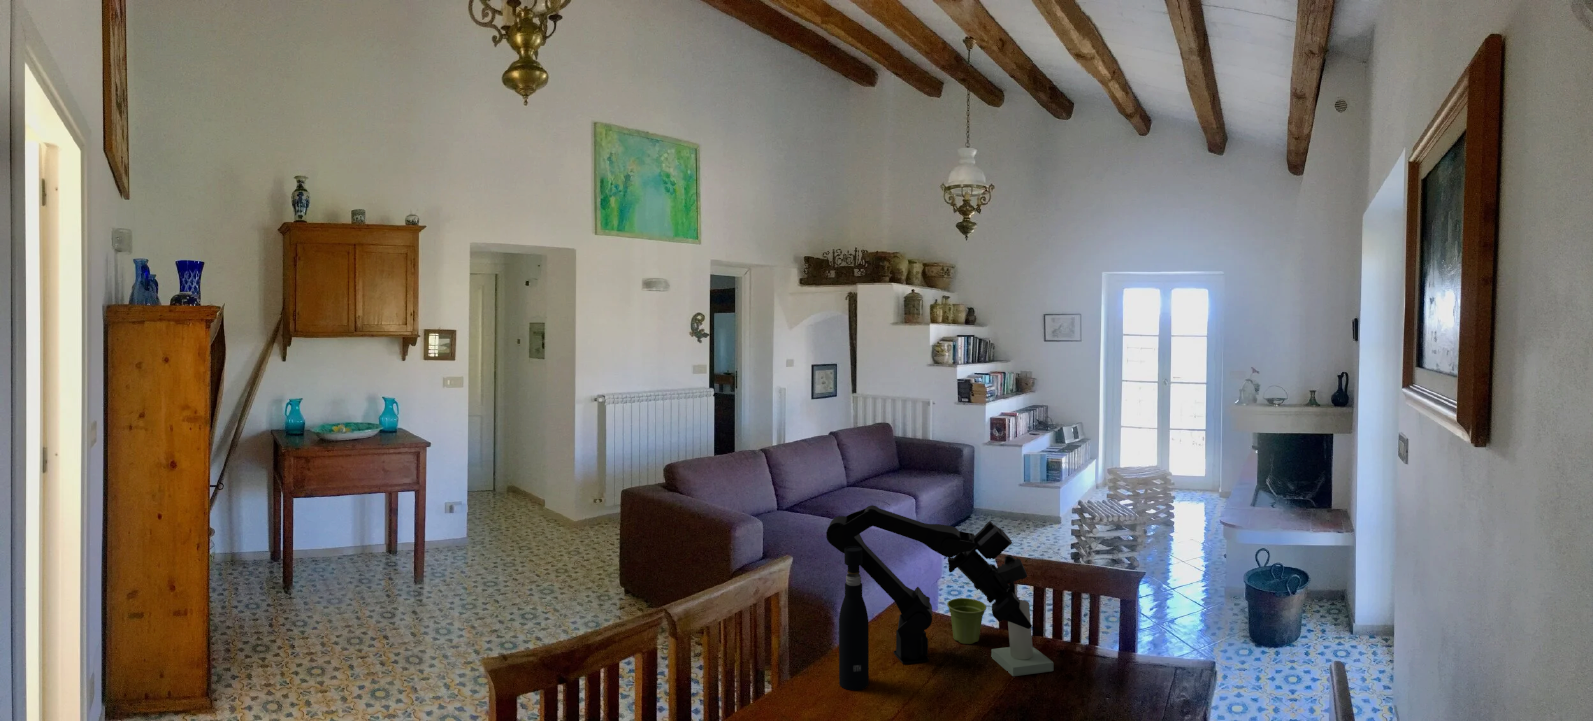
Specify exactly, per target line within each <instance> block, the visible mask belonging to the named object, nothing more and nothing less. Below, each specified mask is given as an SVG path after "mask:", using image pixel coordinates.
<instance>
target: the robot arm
mask: <svg viewBox="0 0 1593 721" xmlns="http://www.w3.org/2000/svg"><path fill="white" fill-rule="evenodd" d="M872 527H875V528H878V529H882V530H884V531H886V532H887V531H888V532H889V533H893V534H895V535H898V536H901V537H905V538H908V539H911V540H913V541H916V542H919V543H921V544H924V545H925V546H926V547H928V548H929V549H930V550H932V551H934V552H935V553H937V554H939V555H941V556H943V557H945V558H947V563H948V565H947V566H948V572H949V573H953V572H954V571H955V570H956V569H958V570H959V571H960V572H961V573H962V574H963V575H964V576H965V577H966V578H967V579H968V580H969V581H970V582H971V583H972V584H973V588H974V589H975V590H976V591H978V590H979V591H980V592H981V593H982V594H983V595H984V596H985V598H986V601H988V603H989V604H991V613H992V617H994V618H995V620H996V621H997V622H999V623H1000V622H1002V621H1006V622H1008V621H1009V622H1012V623H1014V624H1017V625H1019V626H1022V627H1024V628H1027V629H1030V628H1031V629H1032V625H1033V624H1031V623H1032V622H1031V623H1030V622H1029V620H1028V619H1027V618H1026V616H1025V615H1024V613H1023V612H1022V611H1021V609H1020V608H1019V607H1020V600H1021V599H1020V597H1019V596H1017V594H1016V585H1015V582H1017V581H1019V580H1024V579H1027V578H1028V574H1027V571H1026V568H1025V566H1024V565H1023V562H1022V560H1021V559H1020V558H1018V557H1017V558H1015V557H1014V556H1012V555H1011V554H1009V555H1006V556H1004V563H1001V566H998V567H997V566H996V565H995V564H993V563H989V562H988V561H986V560H988V559H989V560H995V559H996V558H998V556H1000V555H1001V554H1002V553H1003V552H1004V551H1005V550H1006V549H1008V548H1009V547H1010V546H1011V545H1012V543H1013V541H1012V540H1011V538H1010V537H1009V536H1008V534H1006V532H1005V531H1004V530H1003V529H1002V528H1000V527H998V526H997V525H995V523H993V522H992V521H991V520H989V521H987V523H985V525H984V526H983V527H982V528H981V529H980V530H979V531H978V532H977V533H976V534H975V533H973V532H966V531H959V529H958V528H957V527H955V526H952V525H948V524H947V525H946V524H940V523H925V522H921V521H919V520H916V519H912V518H910V517H907V516H904V515H901V514H898V513H895V512H892V511H889V510H886V509H883V508H880V507H878V506H876V505H873V504H872V505H868V506H866V507H865V508H863V509H860V510H857V511H854V512H851V513H849V514H847V515H845V516H844V515H839V516H835V517H833V519H832V520H831V521H830V523H829V525H828V528H827V530H826V536H825V537H826V540H827V542H828V543H829V544H830V545H831V546H832V547H834V548H835V549H836V550H838V551H839V552H840V553H842V554H844V555H845V550H844V549H845V548H846V547H849V546H857V547H861V548H862V565H859V567H861V568H862V569H863V570H864V571H865V573H867V574H868V575H869V576H870V577H871V578H872V580H873V581H874V582H876V584H878V586H879V587H880V588H881V589H882V590H883V592H885V593H886V594H887V595H888V596H889V597H890V598H891V599H892V600H893V602H894V603H895V604H896V606H897V608H898V610H899V612H900V615H899V617H898V626H897V629H896V630H895V642H896V643H895V645H896V646H895V650H893V654H894V655H895V656H896V658H897V659H898V660H899V661H900V663H901V664H902V665H903V664H904V665H905V664H906V665H907V664H915V663H923V662H929V660H930V659H929V657H928V654H929V637H928V636H927V632H926V631H925V630H927V629H929V628H930V627H931V625H932V622H933V605H932V603H931V598H930V597H929V596H927V595H926V594H924V592H923V591H922V589H921V588H920V587H919V586H916V588H914V590H913V589H912V588H909V587H908V586H906V585H905V584H904V583H903V581H901V579H900V578H899V577H898V575H896V574H895V573H894V572H893V571H892V570H891V569H890V568H889V567H888V566H887V565H886V563H885V562H883V561H882V560H881V559H880V557H878V556H877V554H876V553H875V552H873V550H872V549H870V547H869V546H868V545H867V544H866V543H865V542H864V539H863V538H862V536H861V533H863V532H864V531H866V530H867V529H870V528H872Z"/></svg>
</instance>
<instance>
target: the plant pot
mask: <svg viewBox="0 0 1593 721" xmlns="http://www.w3.org/2000/svg"><path fill="white" fill-rule="evenodd" d="M946 606H947V607H948V610H949V611H948V612H949V613H950V618H951V629H952V637H953V639H954V641H956V642H959V643H960V644H965V645H966V644H967V645H970V644H971V645H972V644H974V643H976V642H977V643H978V642H979V641H980V634H981V627H982V621H983V616H984V615H985V611H987V605H986V604H985V603H984V602H983V601H980V600H977V599H975V598H974V599H973V598H970V597H969V598H967V597H966V598H965V597H959V598H958V597H957V598H953V599H950V600H948V601H947V604H946Z"/></svg>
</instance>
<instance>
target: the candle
mask: <svg viewBox="0 0 1593 721" xmlns="http://www.w3.org/2000/svg"><path fill="white" fill-rule="evenodd" d="M1019 600H1020V607H1019V608H1020V609H1021V611H1022V612H1023V613H1024V615H1025V616H1026V618H1027V619H1028V620H1029V622H1030V623H1032V622H1031V610H1030V602H1029V601H1027V600H1025V599H1019ZM1007 626H1008V641H1009V647H1010V655H1011V657H1013V658H1015V659H1020V660H1025V659H1030V658H1032V657H1033V647H1034V646H1033V637H1032V636H1033V635H1032V627H1031V628H1030V629H1027V628H1024V627H1022V626H1019V625H1017V624H1014V623H1012V622H1009V621H1007ZM1032 646H1033V647H1032Z"/></svg>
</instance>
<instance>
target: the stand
mask: <svg viewBox="0 0 1593 721" xmlns="http://www.w3.org/2000/svg"><path fill="white" fill-rule="evenodd" d="M1032 647H1033V657H1032V658H1030V659H1025V660H1020V659H1015V658H1013V657H1011V655H1010V646H1008V647H999V648H991V657H992V658H991V657H990V658H991V659H993V660H994V661H995V662H996V664H998V665H999V666H1000V667H1002V669H1004V670H1005V671H1006V672H1007V671H1008V673H1009V675H1011V676H1012V677H1018V676H1025V675H1026V676H1027V675H1033V674H1040V673H1042V674H1043V673H1048V672H1049V673H1050V672H1054V661H1052V660H1051V659H1050V658H1049V657H1047V656H1046V655H1045V654H1044V653H1042V652H1041V651H1039V650H1038V649H1037V648H1036V647H1034V645H1032Z"/></svg>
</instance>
